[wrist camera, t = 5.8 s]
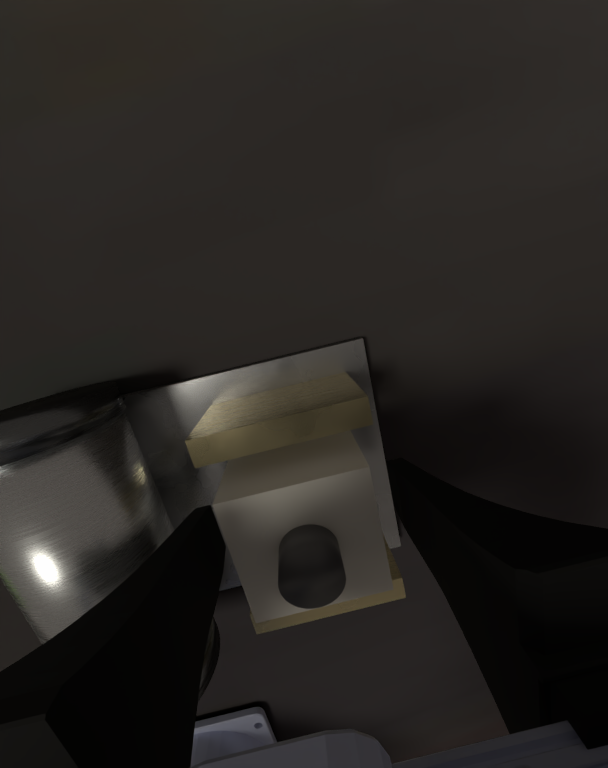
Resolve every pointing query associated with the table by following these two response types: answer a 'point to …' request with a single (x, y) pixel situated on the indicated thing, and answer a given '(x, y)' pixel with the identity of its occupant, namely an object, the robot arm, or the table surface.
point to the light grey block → (303, 526)
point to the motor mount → (164, 475)
